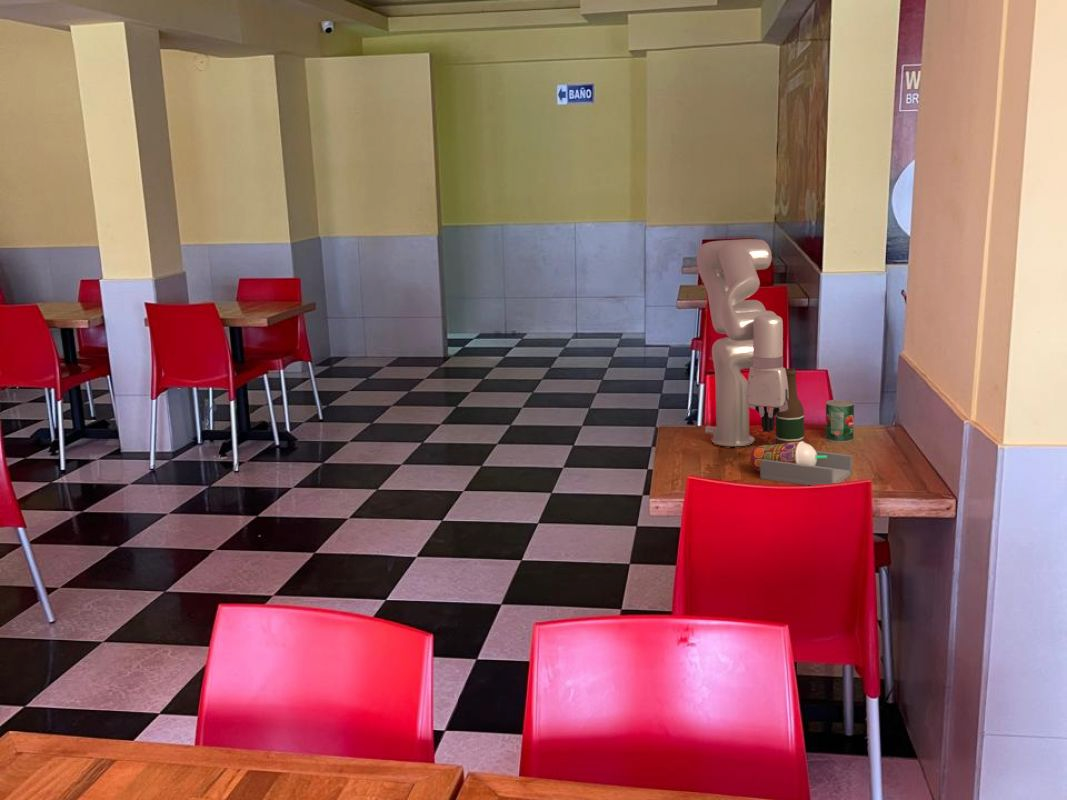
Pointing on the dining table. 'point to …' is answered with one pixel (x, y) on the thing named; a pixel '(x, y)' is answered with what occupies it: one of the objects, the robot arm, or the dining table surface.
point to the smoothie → (785, 454)
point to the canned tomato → (839, 420)
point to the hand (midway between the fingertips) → (768, 430)
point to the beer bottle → (790, 415)
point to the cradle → (809, 470)
